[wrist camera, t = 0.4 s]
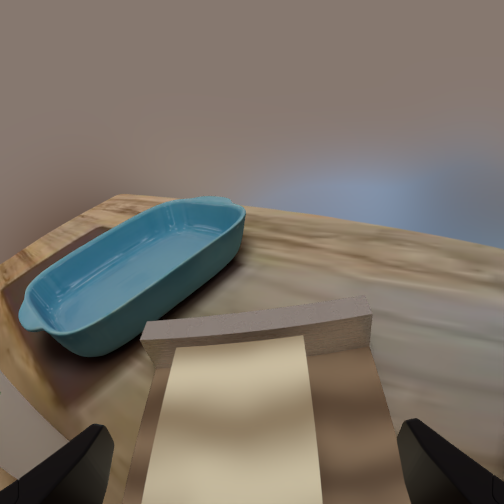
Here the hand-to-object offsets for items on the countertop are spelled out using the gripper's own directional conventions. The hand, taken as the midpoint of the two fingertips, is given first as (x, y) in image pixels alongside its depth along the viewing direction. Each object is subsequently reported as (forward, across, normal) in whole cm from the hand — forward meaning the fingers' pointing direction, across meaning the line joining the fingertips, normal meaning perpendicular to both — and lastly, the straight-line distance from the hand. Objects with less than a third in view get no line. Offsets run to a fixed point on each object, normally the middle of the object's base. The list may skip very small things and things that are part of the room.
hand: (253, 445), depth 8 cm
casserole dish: (+35, +16, +11) cm, 40 cm away
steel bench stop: (+18, 0, +10) cm, 21 cm away
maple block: (+6, 0, +12) cm, 14 cm away
